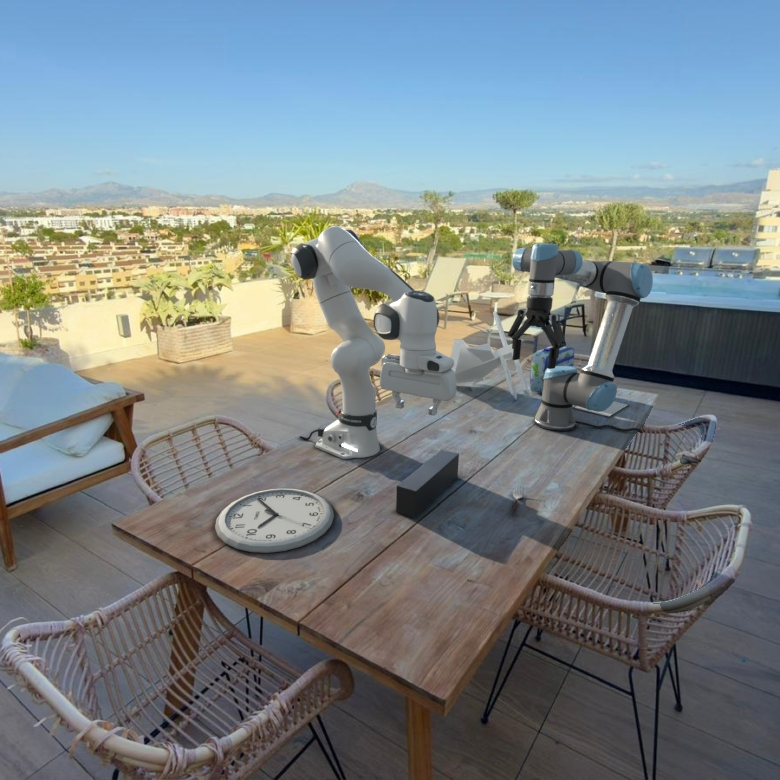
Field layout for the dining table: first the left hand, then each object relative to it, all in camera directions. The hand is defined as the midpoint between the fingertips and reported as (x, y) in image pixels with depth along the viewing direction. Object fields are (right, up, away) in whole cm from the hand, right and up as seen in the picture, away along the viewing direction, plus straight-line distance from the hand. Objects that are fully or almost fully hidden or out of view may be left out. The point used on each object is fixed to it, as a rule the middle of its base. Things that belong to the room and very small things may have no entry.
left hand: (415, 411), depth 133 cm
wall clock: (-36, -28, +2) cm, 46 cm away
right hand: (+39, +14, +32) cm, 52 cm away
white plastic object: (+35, +4, +110) cm, 115 cm away
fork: (+28, -26, +12) cm, 40 cm away
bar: (+5, -24, +17) cm, 30 cm away
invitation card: (+85, -2, +93) cm, 126 cm away
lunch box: (+69, +5, +115) cm, 134 cm away
